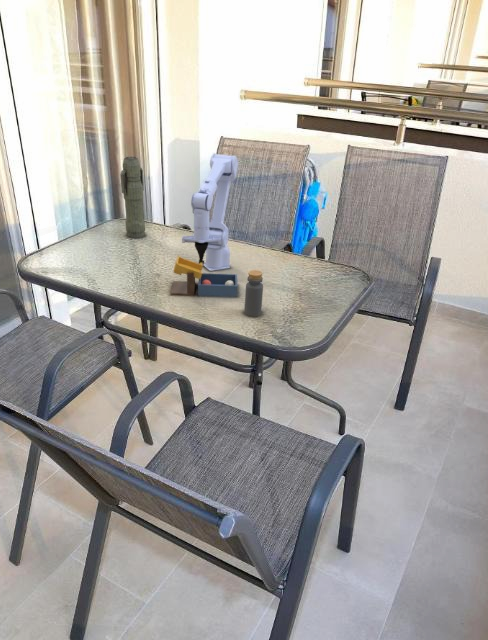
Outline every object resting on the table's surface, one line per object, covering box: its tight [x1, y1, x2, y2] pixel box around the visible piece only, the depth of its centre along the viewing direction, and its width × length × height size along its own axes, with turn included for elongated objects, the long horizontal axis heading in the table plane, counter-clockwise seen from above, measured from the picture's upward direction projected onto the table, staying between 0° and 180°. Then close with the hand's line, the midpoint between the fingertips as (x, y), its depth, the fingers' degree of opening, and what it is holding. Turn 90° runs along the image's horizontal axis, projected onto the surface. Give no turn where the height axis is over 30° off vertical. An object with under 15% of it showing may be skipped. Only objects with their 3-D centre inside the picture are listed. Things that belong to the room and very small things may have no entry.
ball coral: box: [202, 280, 211, 285], centre depth 190 cm, size 4×4×4 cm
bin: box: [197, 272, 239, 298], centre depth 190 cm, size 14×11×4 cm
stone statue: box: [119, 156, 146, 239], centre depth 232 cm, size 9×12×35 cm
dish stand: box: [170, 272, 196, 297], centre depth 188 cm, size 8×11×9 cm
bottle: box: [244, 269, 264, 317], centre depth 172 cm, size 6×6×15 cm
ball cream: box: [225, 280, 234, 285], centre depth 190 cm, size 4×4×4 cm
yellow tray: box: [172, 255, 205, 280], centre depth 189 cm, size 10×15×4 cm
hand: (201, 261), depth 195 cm, fingers closed, pressing on yellow tray
